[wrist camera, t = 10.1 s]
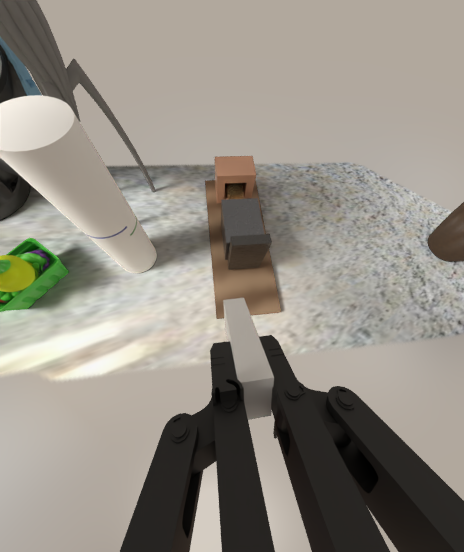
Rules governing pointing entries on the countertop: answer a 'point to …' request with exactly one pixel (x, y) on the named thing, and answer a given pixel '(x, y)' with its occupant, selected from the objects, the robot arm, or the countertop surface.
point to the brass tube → (245, 240)
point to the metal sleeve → (239, 220)
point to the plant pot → (449, 237)
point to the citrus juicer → (50, 61)
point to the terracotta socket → (234, 175)
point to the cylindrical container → (72, 176)
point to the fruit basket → (27, 275)
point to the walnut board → (239, 282)
